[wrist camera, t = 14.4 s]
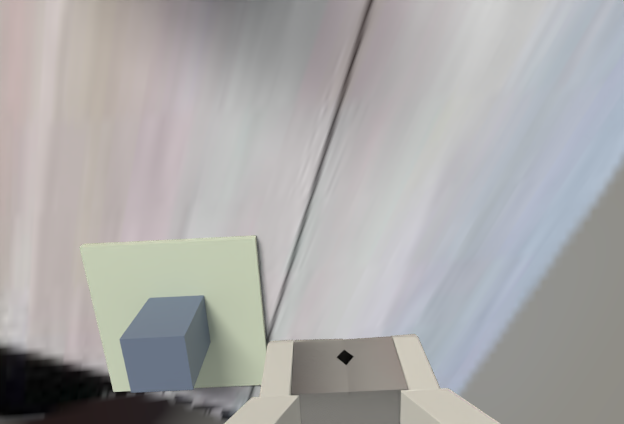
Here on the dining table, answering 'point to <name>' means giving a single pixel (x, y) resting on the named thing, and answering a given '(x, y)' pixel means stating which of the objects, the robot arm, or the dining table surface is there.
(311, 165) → the dining table surface
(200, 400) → the dining table surface
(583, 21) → the dining table surface
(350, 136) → the dining table surface
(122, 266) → the post board
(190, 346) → the blue-grey block
